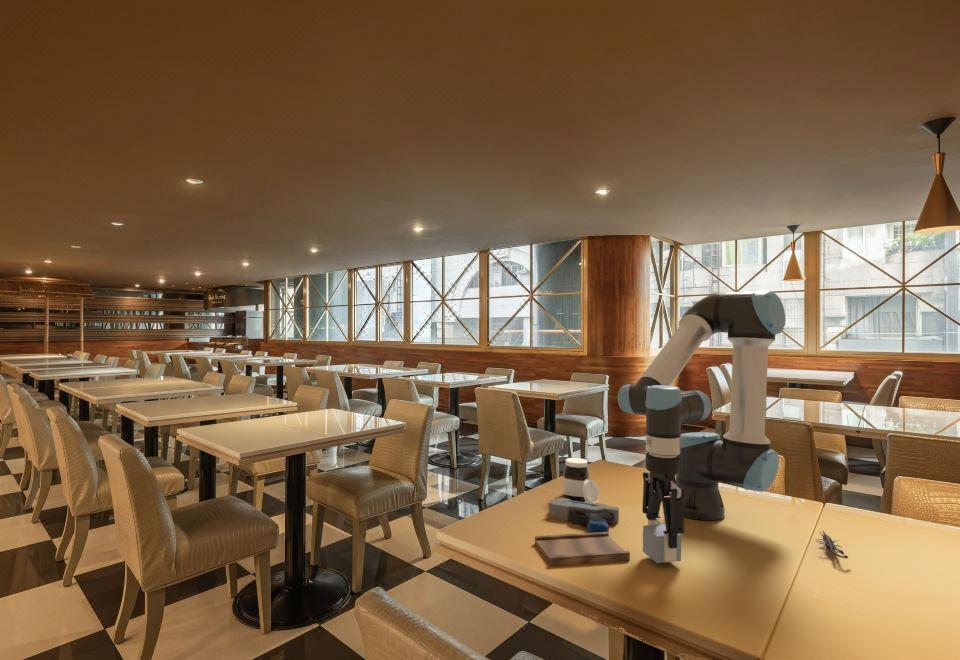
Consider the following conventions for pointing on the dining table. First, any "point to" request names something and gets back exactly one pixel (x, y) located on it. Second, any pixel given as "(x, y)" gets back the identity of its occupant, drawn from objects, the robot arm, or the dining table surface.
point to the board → (580, 548)
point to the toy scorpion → (831, 545)
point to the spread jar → (579, 482)
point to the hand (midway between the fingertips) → (661, 553)
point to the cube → (657, 543)
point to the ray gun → (584, 514)
